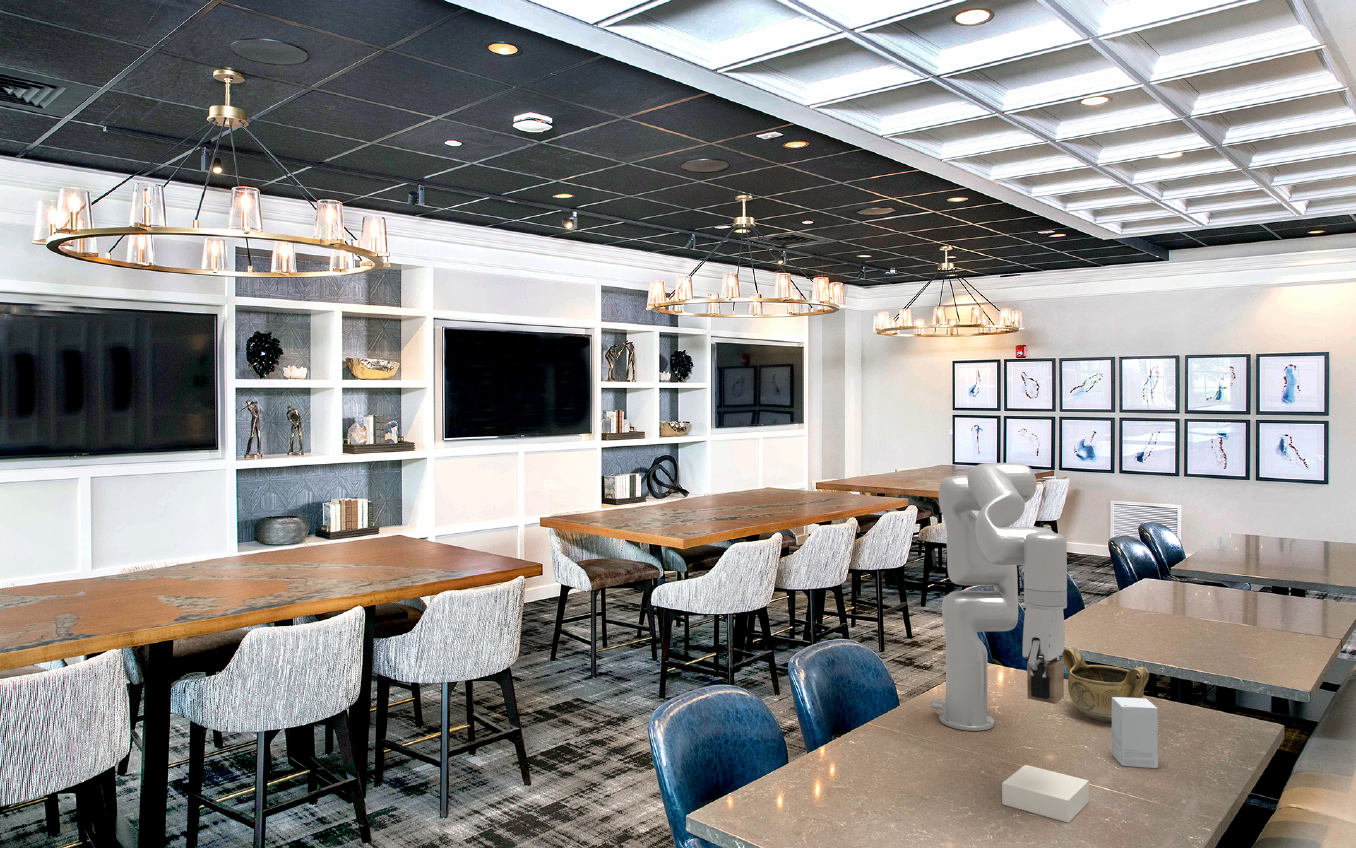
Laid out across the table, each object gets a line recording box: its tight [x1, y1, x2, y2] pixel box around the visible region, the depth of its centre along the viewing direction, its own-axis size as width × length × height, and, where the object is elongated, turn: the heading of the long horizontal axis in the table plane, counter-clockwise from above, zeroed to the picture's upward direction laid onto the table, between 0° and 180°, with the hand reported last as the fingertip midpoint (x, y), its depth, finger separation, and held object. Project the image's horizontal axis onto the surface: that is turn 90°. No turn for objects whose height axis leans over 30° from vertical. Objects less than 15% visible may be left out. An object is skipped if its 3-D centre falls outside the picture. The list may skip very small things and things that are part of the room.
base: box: [1001, 764, 1090, 824], centre depth 167 cm, size 12×12×4 cm
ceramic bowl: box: [1061, 646, 1150, 723], centre depth 216 cm, size 22×17×15 cm
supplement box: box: [1111, 697, 1159, 769], centre depth 188 cm, size 7×7×13 cm
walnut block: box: [1026, 656, 1065, 705], centre depth 167 cm, size 5×5×7 cm
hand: (1045, 693), depth 167 cm, fingers closed on walnut block, 5 cm apart
